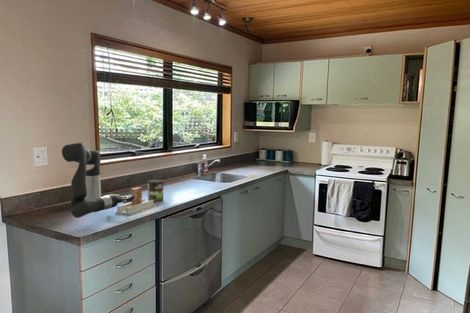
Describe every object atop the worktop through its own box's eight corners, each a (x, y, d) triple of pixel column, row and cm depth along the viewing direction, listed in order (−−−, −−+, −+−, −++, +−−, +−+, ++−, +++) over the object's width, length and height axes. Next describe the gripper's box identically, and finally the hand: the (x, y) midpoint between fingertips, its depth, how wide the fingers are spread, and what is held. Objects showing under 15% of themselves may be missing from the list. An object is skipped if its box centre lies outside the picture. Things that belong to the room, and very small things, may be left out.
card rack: (129, 215, 196) (128, 208, 195) (116, 212, 200) (116, 206, 200) (154, 206, 215) (154, 200, 215) (142, 204, 220) (142, 198, 219)
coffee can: (166, 201, 227) (166, 180, 226) (153, 204, 220) (153, 182, 218) (157, 198, 234) (157, 178, 233) (144, 201, 227) (144, 180, 225)
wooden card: (135, 209, 205) (134, 189, 204) (131, 208, 206) (131, 188, 205) (142, 206, 210) (141, 187, 209) (138, 206, 212) (138, 187, 210)
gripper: (116, 196, 183) (137, 191, 198) (97, 193, 190) (119, 188, 204) (116, 210, 184) (137, 203, 199) (97, 207, 191) (119, 200, 205)
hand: (128, 196), depth 201 cm, fingers open, 8 cm apart
